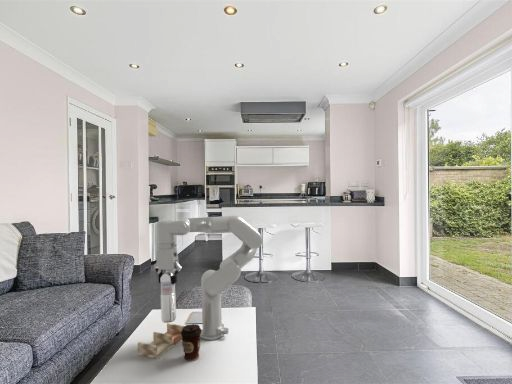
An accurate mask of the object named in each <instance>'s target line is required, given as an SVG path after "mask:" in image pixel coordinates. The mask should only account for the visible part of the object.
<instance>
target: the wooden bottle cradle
mask: <svg viewBox="0 0 512 384" xmlns="http://www.w3.org/2000/svg"><path fill="white" fill-rule="evenodd" d="M184 326H185V325H181V324H175V323H171V322H170V323H166V331H165V333H163V332H156V331H153V335H152V336H153V341H152V342H150V343H146V342H140V341H139V342H137V355H138V356H143V357H147V358H151V359H155V360H157V359H158V358H159V357H161V356H162V355H163V354H164V353H166V352H167V351H168V350H169V349H171V348H172V347H173V346H176V345H178V344H179V343H180V342H181V341H182V335H181V331H182V329H183V327H184Z"/></svg>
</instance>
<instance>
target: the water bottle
mask: <svg viewBox="0 0 512 384" xmlns="http://www.w3.org/2000/svg"><path fill="white" fill-rule="evenodd" d="M171 276H173V275H172V273H171V271H170V270H164V271H163V274H162V276H161V277H160V281H161V283H160V314H161V316H160V317H161V322H162V323H164V324H165V323H166V324H167V323H170V324H171V323H172V322H174V321H176V320H177V312H176V311H177V306H176V305H177V304H176V303H177V302H176V283H175V284H172V283H171Z"/></svg>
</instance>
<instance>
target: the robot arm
mask: <svg viewBox="0 0 512 384" xmlns="http://www.w3.org/2000/svg"><path fill="white" fill-rule="evenodd" d="M157 228H158V229H157V230H158V231H157V235H158V249H157V252H156V262H155V263H154V264H153V268H154V269H155V272H156V274H157V275H158V283H159V284H161V281H160V277H161V276H162V274H163V273H164V272H165V270H169V271H170V272H171V273H172V275H173V276H171V283H172V284H175V285H176V284H177V283H178V276H177V275H178V274H179V273H180V272H181V270H182V269H183V267H182V265H180V264H179V263H180V262H179V253H178V249H177V248H176V247H177V243H176V240H175V239H176V237H175V236H187V234H189V233H205V234H209V235H215V234H231V233H232V234H233V235H234V236H235V237H236V238H237V239H238V240H240V241H241V242H242V244H241V246H240V247H239V248H238V249H237V250H236V251H235V252H233V253H232V254H230V255H229V256H227V257H226V258H225V259H223V260H222V261H221V262H220V265H219V269H218V270H213V269H208V270H206V271H205V272H203V274H202V276H201V279H200V284H201V286H200V287H201V313H202V314H201V315H202V317H201V318H202V319H201V320H202V329H201V330H202V331H201V335H200V339H203V340H206V341H215V340H218V339H220V338H223V337H224V336H225V335H228V334H229V328H228V327H225V325H224V323H223V321H222V320H223V318H222V315H223V314H222V292H223V291H224V290H226V289H227V288H229V287H230V286H231V285H233V284H235V282H236V281H238V280H239V278H240V276H241V274H242V269H243V268H244V267H245V266H246V265H248V263H250V262H251V261H252V260H253V259H254V257H255V255H256V254H257V251H258V249H259V248H261V246H262V245H263V243H264V240H263V238H264V237H263V236H262V234H261V233H260V232H259V231H257V230H256V228H254V227H253V226H252V225H250V224H249V223H248V222H247V221H246V220H245V219H243V218H242V217H240V216H238V215H223V216H207V217H204V216H203V217H185V218H184V217H183V218H179V219H178V220H170V219H168V220H166V219H165V220H160V221H159V222H158V223H157Z"/></svg>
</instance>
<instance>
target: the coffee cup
mask: <svg viewBox="0 0 512 384" xmlns="http://www.w3.org/2000/svg"><path fill="white" fill-rule="evenodd" d="M183 326H184V327H183V329H182V331H181V335H182V340H181V341H182V350H183V353H184V355H183V358H184V360H185V361H188V362H192V361H197V360H198V359H199V358H200V354H199V353H200V352H199V351H200V349H201V337H200V335H201V331H202V329H201V327H200V324H194V323H193V324H187V325H183Z"/></svg>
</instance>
